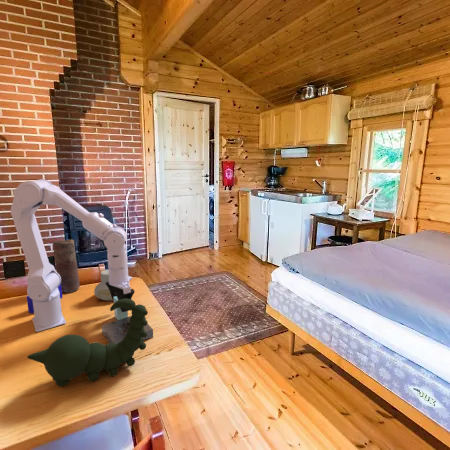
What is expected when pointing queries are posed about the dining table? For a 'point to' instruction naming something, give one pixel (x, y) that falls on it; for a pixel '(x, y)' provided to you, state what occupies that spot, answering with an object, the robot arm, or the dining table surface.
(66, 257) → the candle
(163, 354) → the dining table surface
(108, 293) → the air freshener
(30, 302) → the cable clip
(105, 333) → the port block
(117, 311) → the plug
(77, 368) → the toy figurine
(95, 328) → the dining table surface
